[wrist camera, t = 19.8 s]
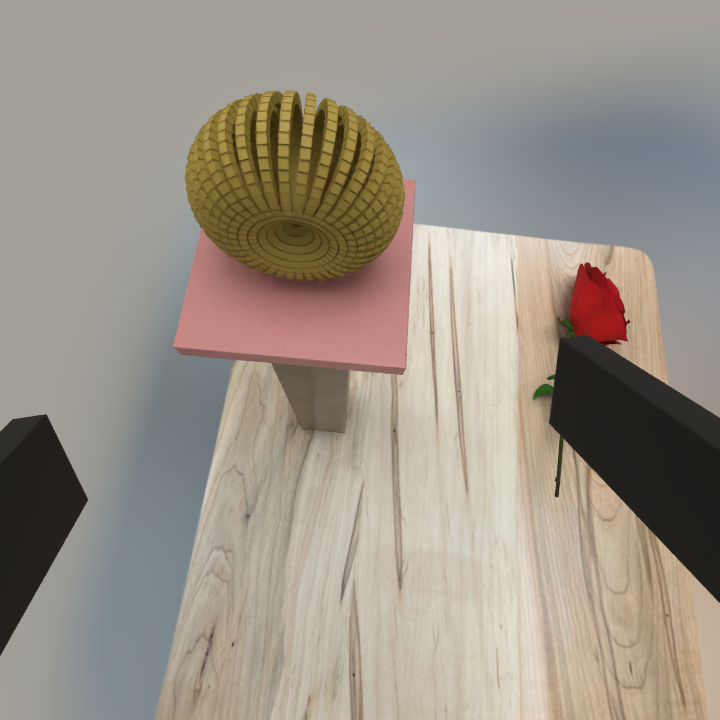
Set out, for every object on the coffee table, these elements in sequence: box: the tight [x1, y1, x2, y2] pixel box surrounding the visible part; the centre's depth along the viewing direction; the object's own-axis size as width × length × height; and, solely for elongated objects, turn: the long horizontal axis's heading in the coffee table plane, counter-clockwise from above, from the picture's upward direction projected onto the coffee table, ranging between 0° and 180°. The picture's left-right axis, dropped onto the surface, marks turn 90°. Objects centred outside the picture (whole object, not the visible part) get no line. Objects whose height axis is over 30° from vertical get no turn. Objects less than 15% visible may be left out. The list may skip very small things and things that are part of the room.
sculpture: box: [185, 91, 405, 281], centre depth 17 cm, size 8×4×8 cm, turn 88°
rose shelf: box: [173, 167, 415, 375], centre depth 21 cm, size 10×10×1 cm
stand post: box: [272, 363, 350, 433], centre depth 36 cm, size 5×5×32 cm
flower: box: [533, 263, 630, 497], centre depth 50 cm, size 9×9×30 cm
